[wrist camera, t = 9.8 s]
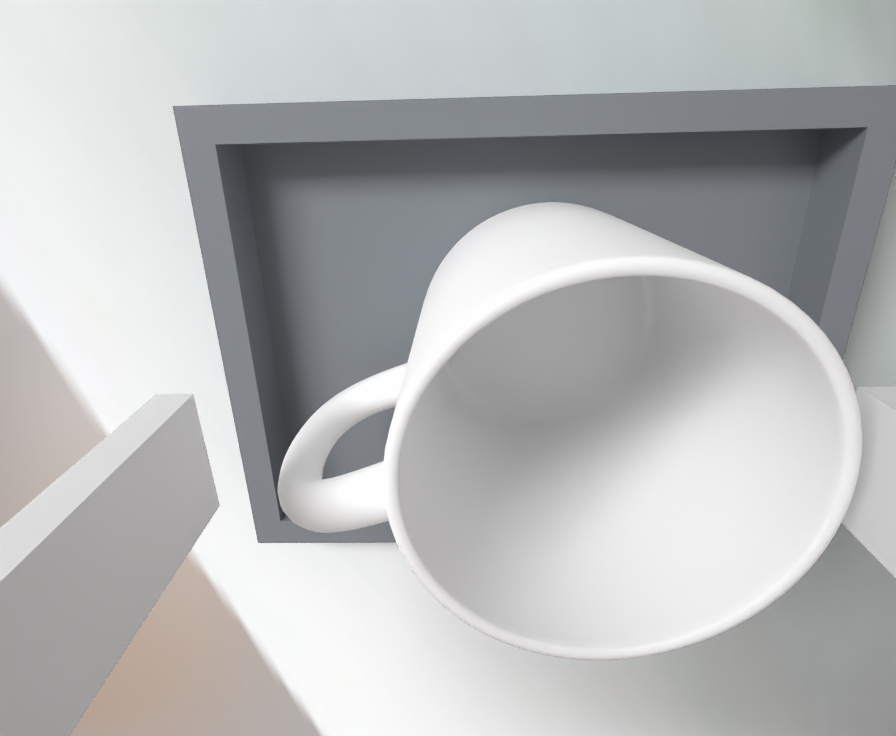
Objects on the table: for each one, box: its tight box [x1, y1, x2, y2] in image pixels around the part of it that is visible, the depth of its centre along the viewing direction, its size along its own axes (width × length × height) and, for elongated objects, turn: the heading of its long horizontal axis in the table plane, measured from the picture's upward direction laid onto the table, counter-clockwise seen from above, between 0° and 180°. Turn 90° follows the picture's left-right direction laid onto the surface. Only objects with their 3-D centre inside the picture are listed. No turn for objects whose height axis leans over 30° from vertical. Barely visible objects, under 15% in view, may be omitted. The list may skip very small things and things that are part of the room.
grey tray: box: [173, 85, 896, 543], centre depth 19 cm, size 15×20×2 cm
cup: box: [278, 202, 862, 660], centre depth 14 cm, size 8×12×10 cm
